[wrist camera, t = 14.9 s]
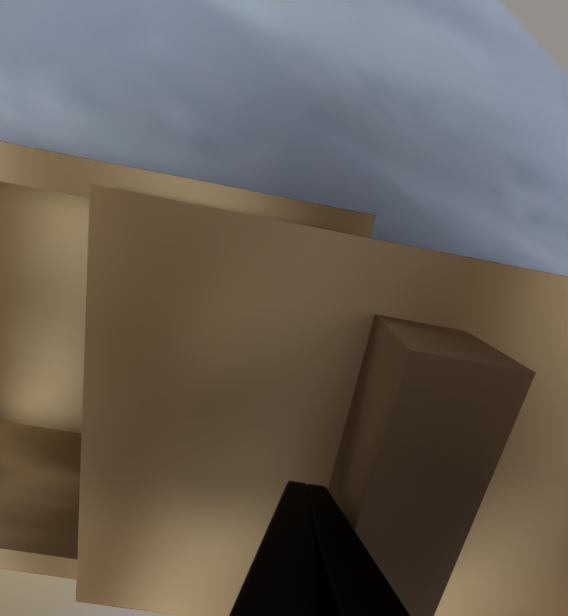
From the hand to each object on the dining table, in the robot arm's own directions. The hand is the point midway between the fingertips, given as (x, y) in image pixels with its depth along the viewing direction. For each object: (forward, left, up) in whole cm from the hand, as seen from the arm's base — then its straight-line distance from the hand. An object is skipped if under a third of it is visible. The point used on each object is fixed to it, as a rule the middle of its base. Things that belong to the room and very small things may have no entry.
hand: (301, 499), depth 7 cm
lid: (+2, 0, -2) cm, 3 cm away
